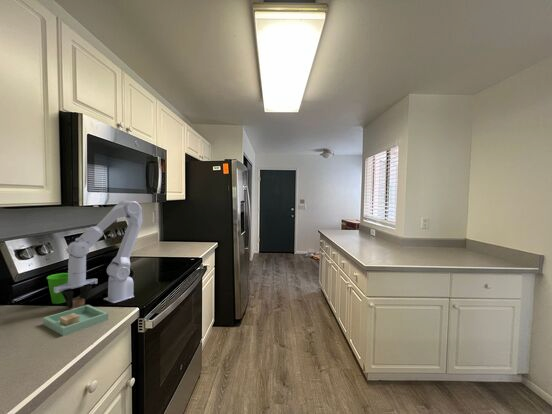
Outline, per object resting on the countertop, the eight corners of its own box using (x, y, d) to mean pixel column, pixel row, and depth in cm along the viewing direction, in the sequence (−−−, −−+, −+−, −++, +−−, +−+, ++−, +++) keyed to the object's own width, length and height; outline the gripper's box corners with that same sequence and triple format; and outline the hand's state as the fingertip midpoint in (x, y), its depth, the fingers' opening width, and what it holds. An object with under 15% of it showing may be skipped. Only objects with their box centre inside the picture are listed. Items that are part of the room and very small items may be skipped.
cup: (41, 302, 111) (42, 276, 111) (66, 296, 119) (67, 271, 119) (52, 307, 107) (52, 280, 107) (77, 300, 115) (78, 275, 115)
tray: (87, 312, 105) (87, 304, 104) (108, 321, 98) (108, 313, 98) (43, 326, 92) (43, 317, 92) (63, 337, 86) (63, 328, 85)
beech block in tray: (73, 324, 93) (73, 313, 93) (79, 327, 91) (79, 315, 91) (59, 328, 90) (59, 317, 90) (65, 332, 88) (65, 320, 88)
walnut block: (79, 306, 109) (79, 296, 109) (84, 308, 108) (84, 298, 107) (67, 309, 106) (68, 299, 106) (73, 312, 104) (73, 301, 104)
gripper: (91, 266, 115) (90, 297, 115) (50, 274, 102) (49, 309, 102) (100, 269, 111) (99, 301, 112) (59, 277, 99) (58, 313, 99)
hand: (76, 305), depth 107 cm, fingers closed on walnut block, 4 cm apart
